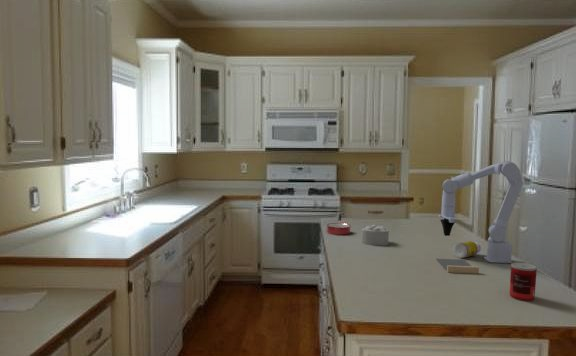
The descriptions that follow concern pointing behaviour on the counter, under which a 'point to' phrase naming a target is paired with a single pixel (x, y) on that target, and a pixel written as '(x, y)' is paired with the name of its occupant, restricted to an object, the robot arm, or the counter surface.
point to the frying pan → (338, 228)
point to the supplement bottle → (466, 249)
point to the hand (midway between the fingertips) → (446, 235)
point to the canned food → (523, 281)
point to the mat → (457, 266)
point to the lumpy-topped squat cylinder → (375, 235)
